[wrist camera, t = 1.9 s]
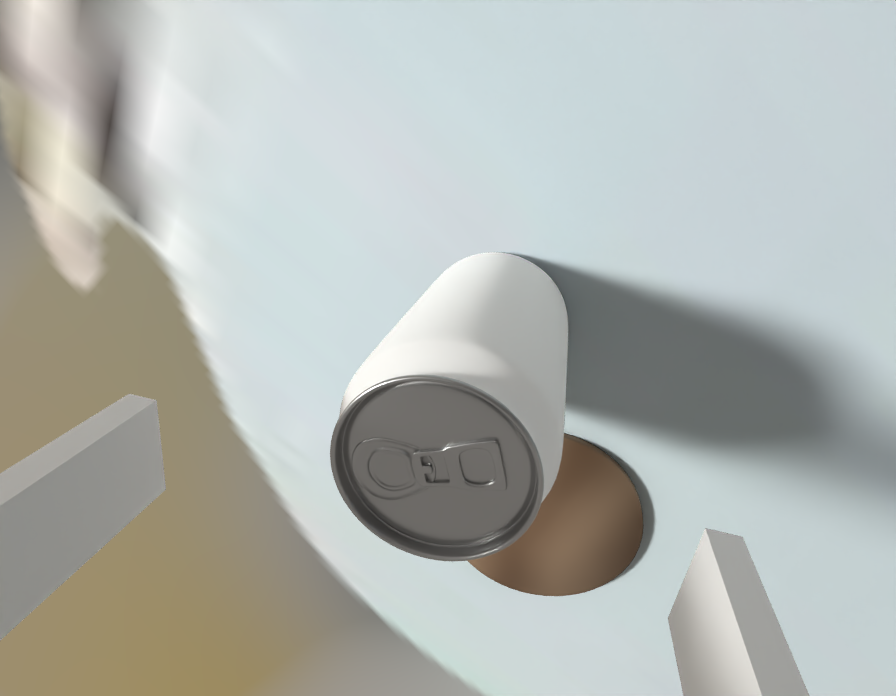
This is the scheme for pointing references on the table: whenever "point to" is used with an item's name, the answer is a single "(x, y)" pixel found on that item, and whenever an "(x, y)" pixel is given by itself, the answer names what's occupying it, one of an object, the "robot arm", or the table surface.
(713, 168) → the table surface
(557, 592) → the coaster
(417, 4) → the table surface
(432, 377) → the can
